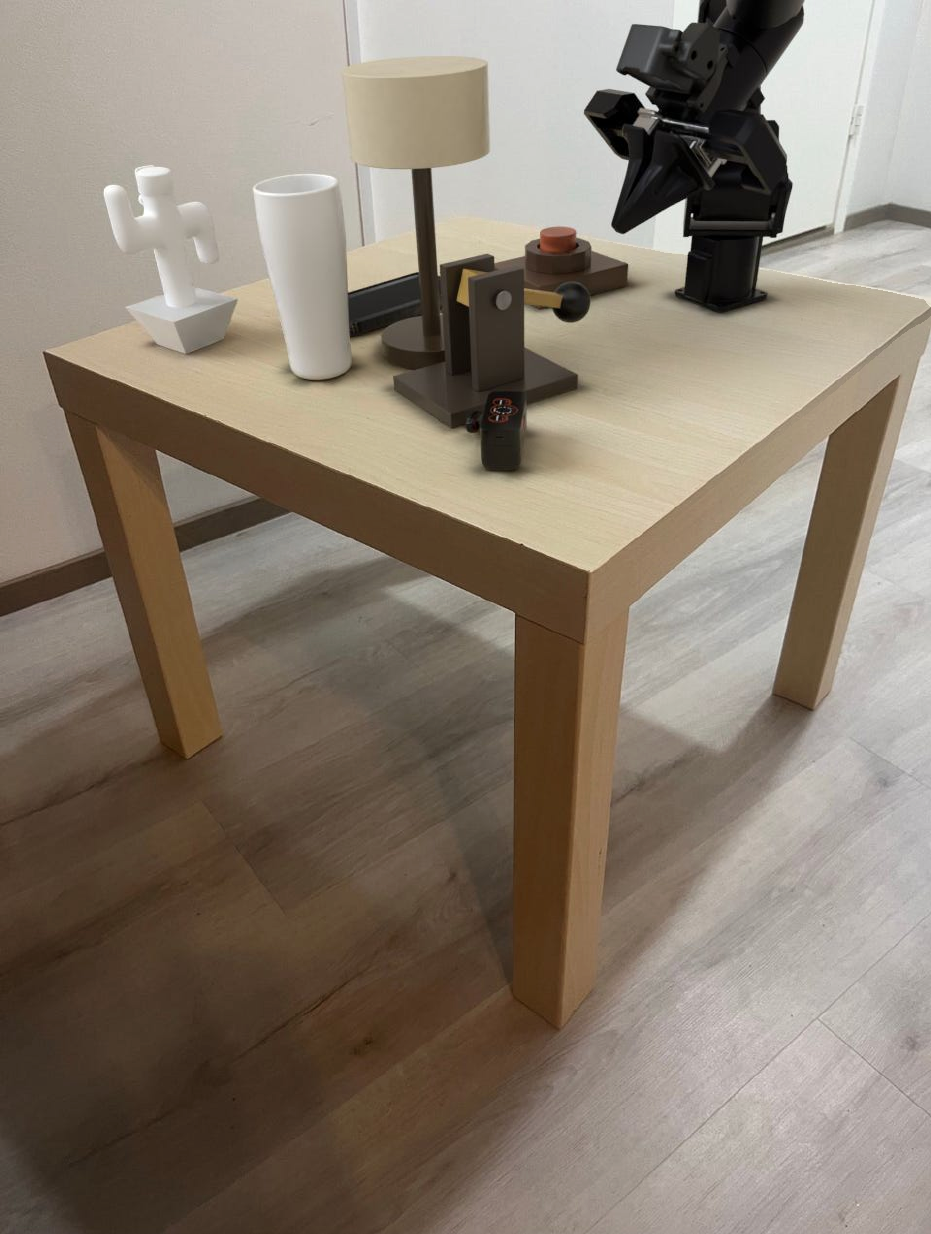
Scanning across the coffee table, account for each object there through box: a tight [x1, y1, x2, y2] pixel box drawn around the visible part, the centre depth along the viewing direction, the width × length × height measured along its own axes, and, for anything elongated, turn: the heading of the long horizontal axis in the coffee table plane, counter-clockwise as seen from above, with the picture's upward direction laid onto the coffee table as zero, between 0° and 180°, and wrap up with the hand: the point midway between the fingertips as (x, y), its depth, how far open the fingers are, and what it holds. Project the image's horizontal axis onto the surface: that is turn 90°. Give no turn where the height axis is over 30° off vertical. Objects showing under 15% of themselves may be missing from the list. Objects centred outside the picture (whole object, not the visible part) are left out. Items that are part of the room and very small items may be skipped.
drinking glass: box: [252, 173, 353, 381], centre depth 76 cm, size 7×7×15 cm
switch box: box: [494, 237, 629, 310], centre depth 95 cm, size 11×9×4 cm
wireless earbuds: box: [464, 391, 528, 471], centre depth 67 cm, size 5×7×3 cm, turn 173°
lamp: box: [341, 55, 491, 370], centre depth 77 cm, size 11×11×22 cm
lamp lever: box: [457, 269, 592, 324], centre depth 74 cm, size 12×3×3 cm, turn 122°
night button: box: [539, 226, 578, 252], centre depth 93 cm, size 4×4×2 cm
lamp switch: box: [392, 253, 579, 429], centre depth 73 cm, size 12×9×10 cm
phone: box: [348, 271, 442, 337], centre depth 92 cm, size 8×1×15 cm
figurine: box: [103, 164, 239, 355], centre depth 83 cm, size 7×9×15 cm
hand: (616, 230), depth 75 cm, fingers closed
